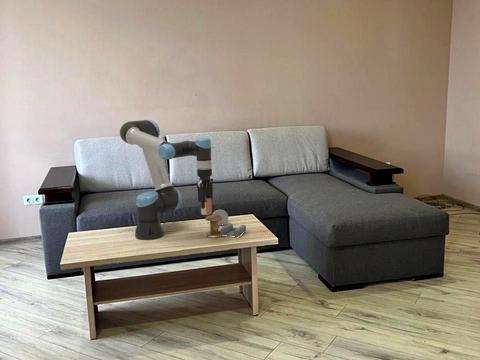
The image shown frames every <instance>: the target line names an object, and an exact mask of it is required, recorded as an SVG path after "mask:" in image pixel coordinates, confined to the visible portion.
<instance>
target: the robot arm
mask: <svg viewBox="0 0 480 360" xmlns="http://www.w3.org/2000/svg"><path fill="white" fill-rule="evenodd" d="M160 131H161V130H160V127H159V125H158V124H157V122H155V121H154V120H151V119H143V120H131V121H125V123H123V124H122V126H121V127H120V129H119V136H120V139H121V140H122V141H123V142H125V143H127V144H128V145H131V146H132V145H135V146H136V145H137V146H138V147H139V148H141V149H142V152H143V155H144V157H145V162H146V164H147V168H148V170H149V174H150V177H151V180H152V182H153V186H154V190H152V191H144V192H142V193H140V194H138V195H137V196H136V203H135V204H136V205H135V206H136V217H137V224H136V227H135V232H134V233H135V236H134V237H135V239H139V240H143V241H144V240H146V241H147V240H157V239H160V238H162V237H163V236H164V230H163V226H162V224H161V221H160V215H163V214H166V213H167V214H168V213H170V212H171V213H172V212H175V211H177V210H179V208H180V207H181V205H182V203H183V196H182V193H181V192H180V191H179V190H178V189H175V186H174V184H171V182H170V178H169V177H168V174H167V170H166V167H165V165H164V161H163V160H174V159H177V158H184V157H190V156H191V157H196V169H197V170H196V174H197V177H198V178H199V182H196V187H197V201H198V202H199V203H200V212H201V213H200V215H201V214H204V216H208V215H207V207H206V202H205V199H206V198H211V201H213V198H214V193H213V192H214V191H213V190H214V189H213V188H214V186H213V183H214V179H213V178H211V177H212V176H213V168H212V164H213V161H212V144H211V139H210V137H197V138H195V141H193V140H182V141H180V142H169V141H167V140H164V139H162V138H160Z"/></svg>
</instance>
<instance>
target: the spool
mask: <svg viewBox="0 0 480 360" xmlns="http://www.w3.org/2000/svg"><path fill="white" fill-rule="evenodd" d="M220 220H222V216H220V215H212V214H209V215H206V216H205V221H208V222H209V225H210V228H209V229H210V230H209V231H207V232H206V233H205V235H207V236H220V235H222V234H221V230H219V226H218V221H220ZM207 236H206V237H207Z"/></svg>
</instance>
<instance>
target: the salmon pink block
mask: <svg viewBox="0 0 480 360" xmlns="http://www.w3.org/2000/svg"><path fill="white" fill-rule="evenodd" d="M205 202H206V207H207V215H206V216H210V215H212V214H213V210H212V209H213V208H212V207H213V206H212V200H211V198H206V199H205ZM200 215H204V214H201V213H200ZM204 216H205V215H204Z"/></svg>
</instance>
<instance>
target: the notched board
mask: <svg viewBox="0 0 480 360" xmlns="http://www.w3.org/2000/svg"><path fill="white" fill-rule="evenodd" d="M220 231H221V234H222V235H227V236H235V237H238V236H240V235H241V234H242V233H243V232H245V231H246V232H247V225H246V224H241V225H240V226H238V227H235V226H234V224H233V223H227V225H226V224H225V226H223V227H222V228H220ZM240 237H241V236H240Z"/></svg>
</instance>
